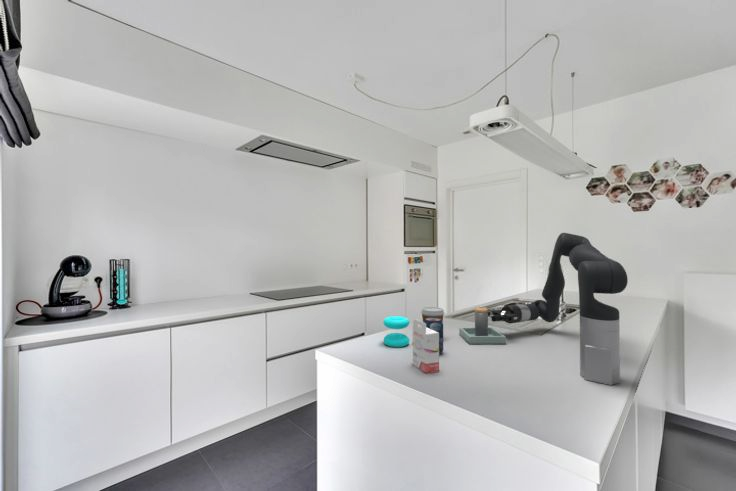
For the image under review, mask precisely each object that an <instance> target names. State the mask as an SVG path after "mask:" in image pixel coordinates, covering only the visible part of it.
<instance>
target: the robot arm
mask: <svg viewBox="0 0 736 491" xmlns="http://www.w3.org/2000/svg"><path fill="white" fill-rule="evenodd" d="M562 256H563V257H568V259H569V262H570V265H571V266H572V268H574V269H575V270H576V271H577V284H578V295H579V297H578V299H579V300H578V302H579V304H578V306H579V374H580V376H581V377H583V378H584V380H586V381H590V382H594V383H601V384H604V385H609V386H613V384H619V383H620V382H621V362H620V361H621V354H620V352H621V350H620V349H621V348H620V347H621V346H620V344H621V343H620V342H621V340H620V339H621V338H620V326H621V325H620V310H619V309H618V308H617V307H615V306H611V305H608V304H606V303H603V302H601V301H599V300H598V299H596V298H595V295H594V294H606V295H607V294H608V295H614V294H615V295H616V294H620V293H622V292H623V291H625V290H626V288H627V285H628V274H627V272H626V269H625V268H624V266H623V265H622V264H621V263H619V262H618V261H616V260H614V259H611V258H609V257H608V256H606V255H605V254H604V253H602V252H601V251H600V250H598V248H596V247H595V246H593V245H592V243H591V241H590V240H589V239H588V238H587V237H585V236H582V235H578V234H573V233H570V232H569V233H568V232H561V233H560V234H559V235H558V236H557V239H556V241H555V244H554V247H553V252H552V256H551V260H550V265H549V269H548V275H547V278H546V280H545V283H544V286H543V289H542V292H541V297H542V298H543V299H544V300H543V299H537V300H534V301H532V302H530V303H525V304H524V303H523V304H522V303H521V304H508V305H507V304H505V305H504V306H503V307H502V308H500V309H495V308H488V318H490V319H491V322H493V323H495V322H504V323H505V324H506V323H507V324H517V323H524V322H529V321H536V320H538V319H539V318H541V319H542V320H543V321H545V322H547V323H553V322H555V321H556V320H557V319H558V318H559V314H560V304H561V303H560V302H561V300H560V299H561V296H562V294H563V292H564V289H565V285H566V283H565V282H566V281H565V279H566V278H565V276H564V273H563V270H562V266H561V260H562V259H561V258H562Z"/></svg>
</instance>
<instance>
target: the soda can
mask: <svg viewBox="0 0 736 491" xmlns="http://www.w3.org/2000/svg"><path fill="white" fill-rule="evenodd" d="M424 323H426V327H427V328H429V329H431V330H434V331H436V332H438V333H439V356H440V355H441V354H442V353H443V351H444V322H443V323H442V321H441V319H440V318H436V317H428V318H425V321H424Z"/></svg>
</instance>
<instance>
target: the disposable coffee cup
mask: <svg viewBox="0 0 736 491" xmlns="http://www.w3.org/2000/svg"><path fill="white" fill-rule="evenodd" d="M420 313H421V316H422V322H423V323H424V321H425V318H428V317H436V318H440V319H441V321H442V323H443V324H444V314H445V313H446V312H445V311H444V309H443V308H442V307H437V306H435V307H434V306H430V307H429V306H427V307H422V309H421V311H420Z"/></svg>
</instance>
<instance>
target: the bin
mask: <svg viewBox="0 0 736 491" xmlns="http://www.w3.org/2000/svg"><path fill="white" fill-rule="evenodd" d="M458 329H459V332H458V334H459V336H460V337H461V338H462V339H463V340H464V341H465V342H466V343H467V344H468V345H470V346H473V345H474V346H475V345H476V346H480V345H481V346H482V345H483V346H484V345H486V346H487V345H488V346H489V345H490V346H493V345H495V346H496V345H497V346H498V345H499V346H500V345H503V346H504V345H507V336H506V335H504V334H503V333H501V332H499V331H498V330H496V329H495V328H493V327H488V336H475V327H459V328H458Z"/></svg>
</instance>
